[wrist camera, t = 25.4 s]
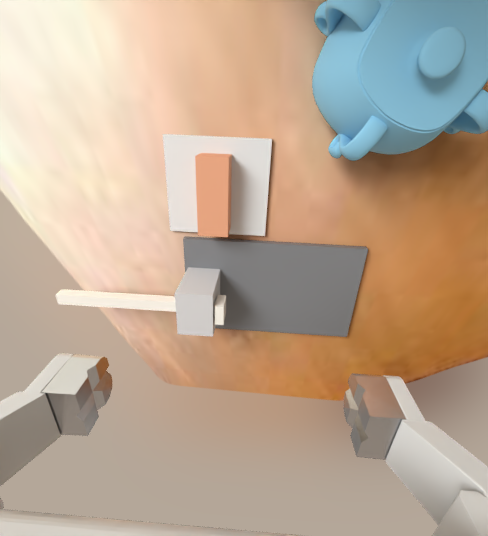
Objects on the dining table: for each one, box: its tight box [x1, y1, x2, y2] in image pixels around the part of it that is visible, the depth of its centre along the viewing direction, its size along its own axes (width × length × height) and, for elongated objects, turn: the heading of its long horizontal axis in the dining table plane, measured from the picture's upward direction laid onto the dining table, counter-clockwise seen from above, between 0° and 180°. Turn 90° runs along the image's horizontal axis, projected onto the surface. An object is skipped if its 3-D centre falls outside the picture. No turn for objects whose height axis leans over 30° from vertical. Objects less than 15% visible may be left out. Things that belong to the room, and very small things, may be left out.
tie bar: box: [56, 289, 226, 325], centre depth 42 cm, size 3×24×3 cm, turn 88°
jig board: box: [175, 237, 368, 337], centre depth 43 cm, size 16×27×9 cm, turn 88°
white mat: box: [163, 134, 272, 236], centre depth 41 cm, size 13×14×1 cm
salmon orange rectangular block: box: [195, 153, 232, 237], centre depth 39 cm, size 10×4×4 cm, turn 178°
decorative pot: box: [312, 0, 488, 161], centre depth 28 cm, size 16×16×14 cm
